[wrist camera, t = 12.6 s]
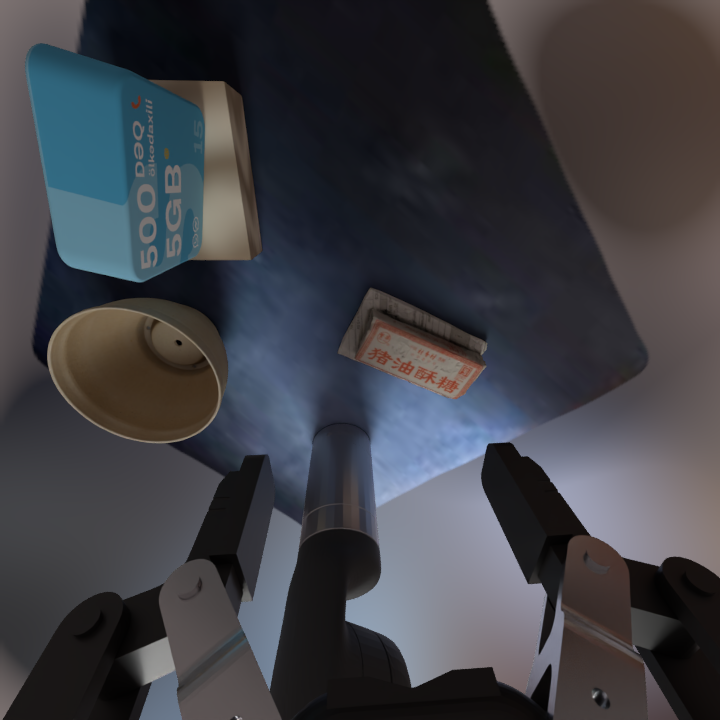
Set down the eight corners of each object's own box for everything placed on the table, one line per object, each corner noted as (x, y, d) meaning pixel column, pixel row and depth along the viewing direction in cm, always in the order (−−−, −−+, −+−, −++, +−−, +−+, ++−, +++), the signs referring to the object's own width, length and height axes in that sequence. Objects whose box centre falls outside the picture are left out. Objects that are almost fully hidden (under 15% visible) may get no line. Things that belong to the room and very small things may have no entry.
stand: (262, 250, 37) (250, 259, 33) (164, 250, 37) (140, 259, 32) (241, 96, 30) (224, 81, 26) (122, 93, 30) (83, 78, 26)
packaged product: (501, 356, 40) (456, 414, 44) (486, 339, 44) (446, 394, 48) (371, 296, 36) (335, 367, 40) (369, 283, 40) (336, 349, 44)
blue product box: (202, 254, 32) (132, 289, 22) (154, 242, 32) (58, 272, 21) (206, 109, 27) (115, 62, 16) (148, 91, 26) (14, 30, 16)
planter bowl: (157, 399, 46) (108, 454, 37) (90, 291, 39) (6, 326, 29) (265, 378, 45) (243, 430, 36) (218, 263, 38) (175, 291, 28)
